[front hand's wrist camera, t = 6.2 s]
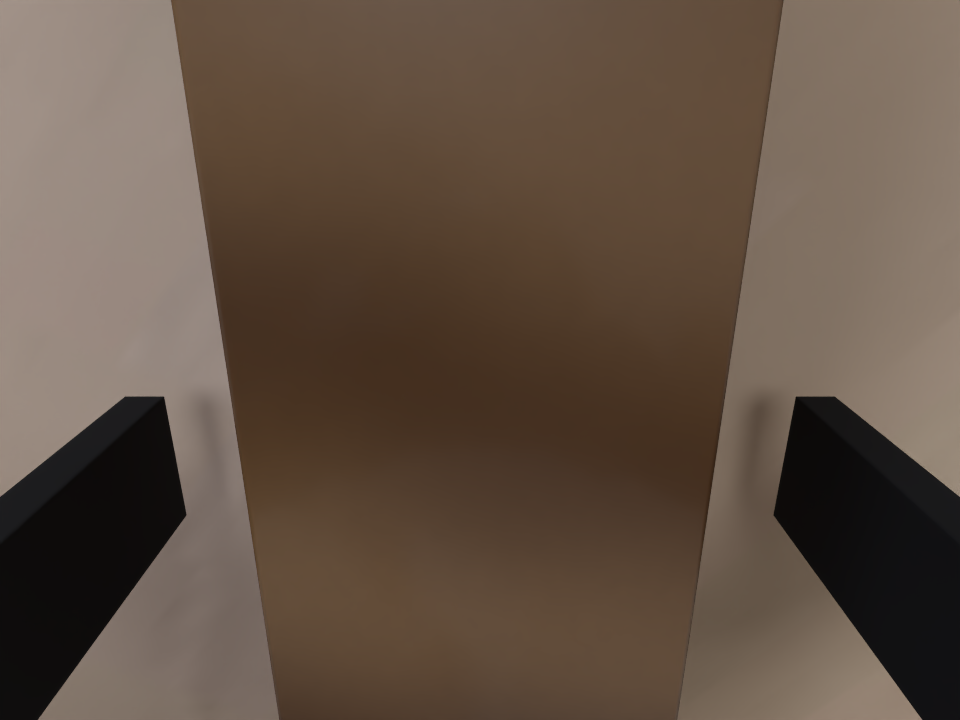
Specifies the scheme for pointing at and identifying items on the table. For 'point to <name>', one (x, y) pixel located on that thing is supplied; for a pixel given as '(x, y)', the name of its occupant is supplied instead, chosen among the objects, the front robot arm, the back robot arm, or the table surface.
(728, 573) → the table surface
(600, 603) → the post
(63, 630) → the front robot arm
